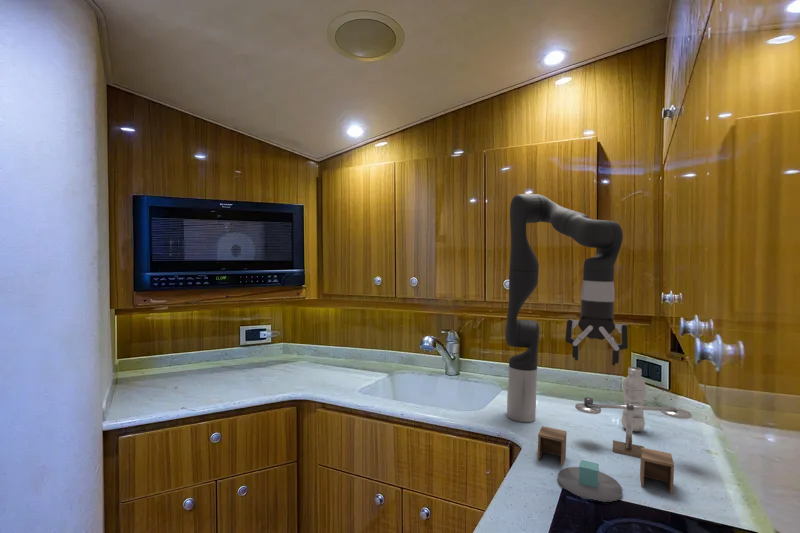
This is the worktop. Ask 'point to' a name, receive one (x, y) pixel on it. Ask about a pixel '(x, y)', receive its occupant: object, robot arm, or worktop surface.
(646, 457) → the empty cover
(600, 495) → the slate dish
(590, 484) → the teal block
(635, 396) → the plastic bottle
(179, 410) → the worktop surface
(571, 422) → the worktop surface
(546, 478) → the worktop surface
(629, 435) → the balance
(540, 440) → the hiding cover
